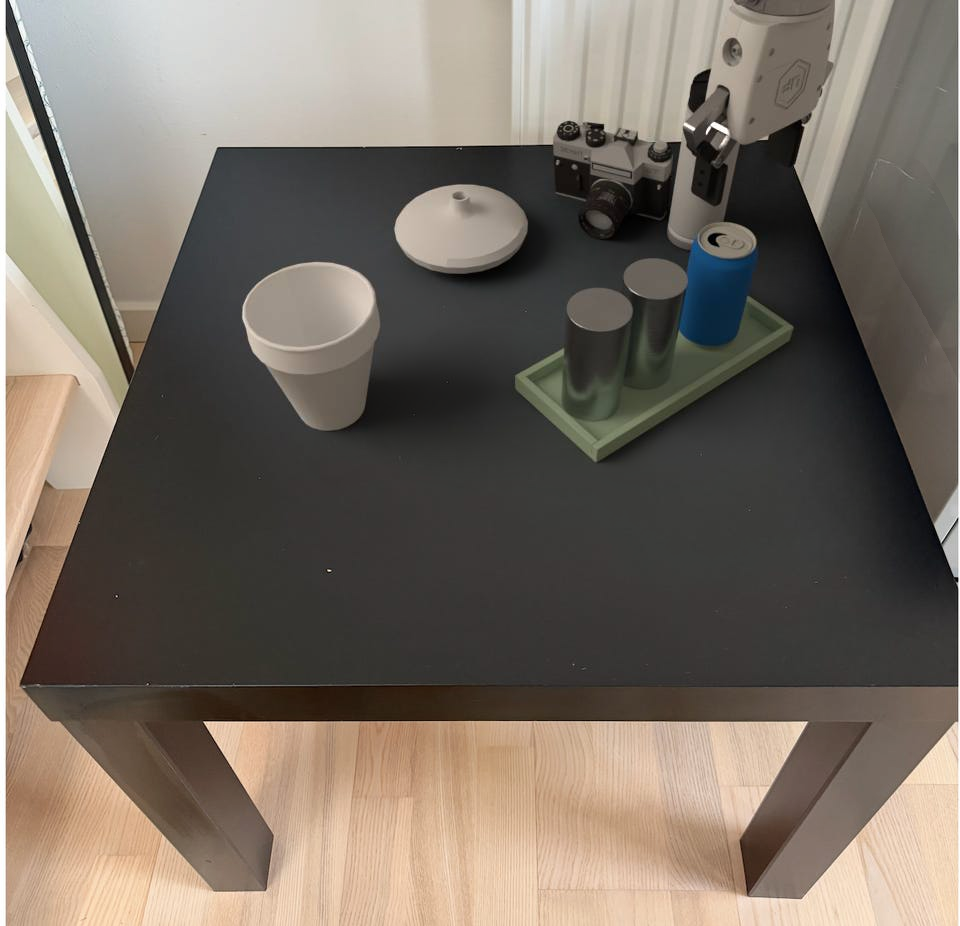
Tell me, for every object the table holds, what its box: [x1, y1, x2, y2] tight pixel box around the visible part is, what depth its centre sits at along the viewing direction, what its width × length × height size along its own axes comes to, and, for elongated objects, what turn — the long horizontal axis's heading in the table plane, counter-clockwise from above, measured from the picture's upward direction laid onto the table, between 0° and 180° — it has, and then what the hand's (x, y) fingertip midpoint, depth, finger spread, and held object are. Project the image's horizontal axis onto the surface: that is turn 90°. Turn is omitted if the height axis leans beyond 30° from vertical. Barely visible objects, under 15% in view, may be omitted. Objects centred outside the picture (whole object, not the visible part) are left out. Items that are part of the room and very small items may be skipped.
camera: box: [552, 120, 674, 240], centre depth 109 cm, size 15×11×10 cm
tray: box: [514, 295, 795, 464], centre depth 95 cm, size 13×28×2 cm, turn 127°
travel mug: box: [666, 67, 741, 252], centre depth 101 cm, size 6×7×20 cm
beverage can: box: [679, 221, 759, 347], centre depth 93 cm, size 6×6×12 cm
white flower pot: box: [241, 261, 381, 432], centre depth 88 cm, size 12×12×14 cm
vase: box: [393, 184, 529, 275], centre depth 106 cm, size 16×16×7 cm
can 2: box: [620, 257, 688, 390], centre depth 90 cm, size 6×6×12 cm
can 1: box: [561, 287, 633, 421], centre depth 87 cm, size 6×6×12 cm
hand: (743, 179), depth 83 cm, fingers open, 9 cm apart
